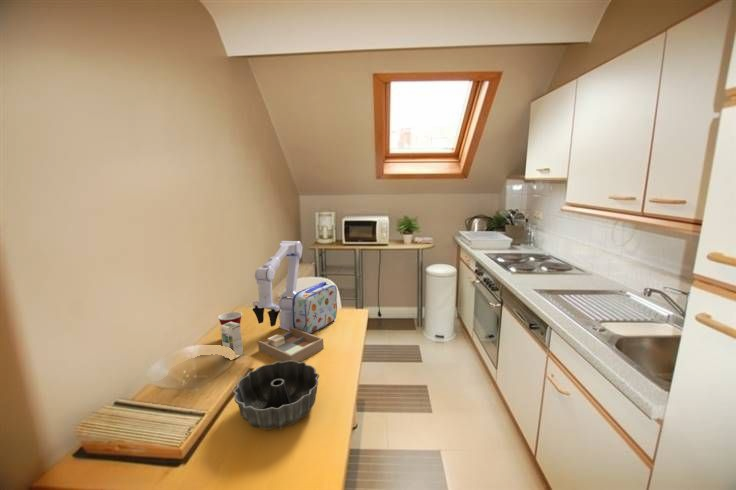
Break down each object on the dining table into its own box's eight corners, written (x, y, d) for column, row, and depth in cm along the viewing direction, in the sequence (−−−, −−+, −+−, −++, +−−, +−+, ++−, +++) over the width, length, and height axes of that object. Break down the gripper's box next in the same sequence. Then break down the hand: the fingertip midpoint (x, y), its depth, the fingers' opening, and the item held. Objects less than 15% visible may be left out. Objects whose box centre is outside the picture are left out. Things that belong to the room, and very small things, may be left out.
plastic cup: (248, 333, 164) (245, 310, 162) (239, 343, 154) (236, 319, 152) (226, 333, 165) (223, 310, 162) (216, 343, 154) (213, 319, 152)
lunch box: (325, 314, 185) (323, 276, 180) (341, 318, 179) (339, 278, 175) (291, 334, 161) (287, 291, 157) (307, 339, 156) (304, 294, 152)
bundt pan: (218, 436, 97) (215, 406, 96) (259, 383, 123) (257, 358, 121) (306, 444, 94) (303, 412, 92) (329, 387, 119) (327, 361, 117)
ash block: (268, 344, 147) (267, 338, 146) (277, 340, 151) (277, 334, 150) (275, 347, 144) (274, 341, 143) (284, 343, 148) (284, 337, 147)
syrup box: (223, 358, 141) (219, 326, 139) (234, 351, 147) (231, 320, 144) (232, 361, 139) (229, 328, 136) (243, 354, 144) (240, 322, 141)
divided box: (258, 350, 147) (257, 341, 146) (291, 335, 161) (290, 326, 160) (291, 366, 133) (290, 356, 132) (323, 348, 147) (323, 338, 146)
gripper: (246, 294, 147) (248, 324, 148) (270, 298, 139) (271, 330, 141) (259, 290, 153) (260, 319, 154) (282, 294, 145) (283, 324, 147)
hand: (266, 324), depth 148 cm, fingers open, 7 cm apart
